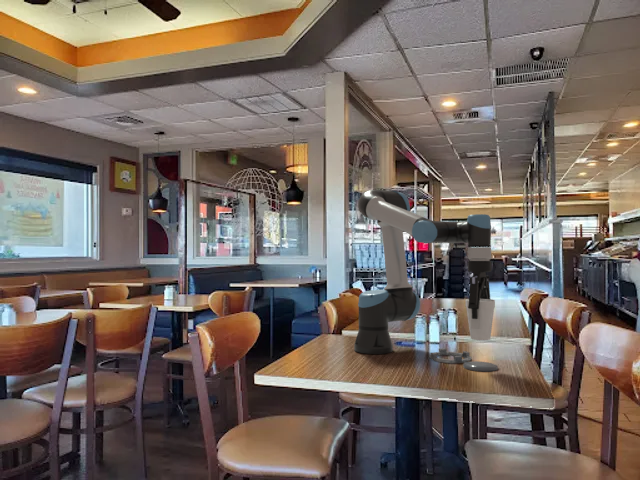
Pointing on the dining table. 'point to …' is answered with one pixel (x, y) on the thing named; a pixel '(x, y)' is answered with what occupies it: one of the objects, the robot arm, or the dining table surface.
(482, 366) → the coaster
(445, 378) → the dining table surface
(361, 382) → the dining table surface
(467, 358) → the collar
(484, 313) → the foam cup
